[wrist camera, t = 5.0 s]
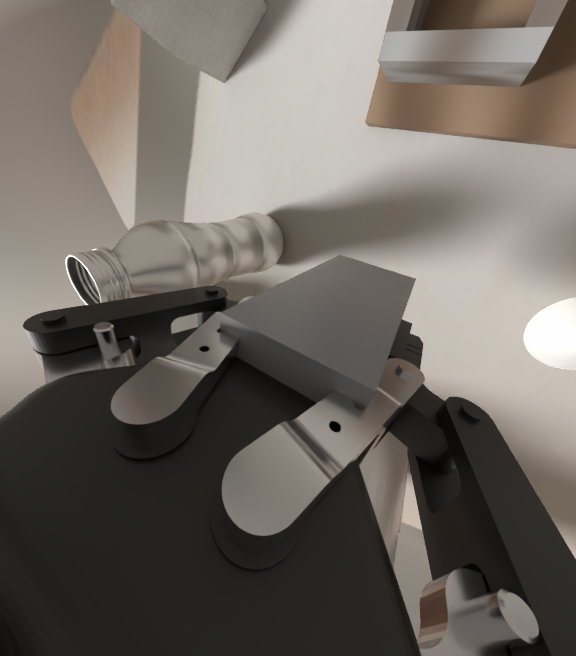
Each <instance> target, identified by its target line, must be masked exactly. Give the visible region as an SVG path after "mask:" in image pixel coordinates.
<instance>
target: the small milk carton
mask: <svg viewBox="0 0 576 656" xmlns="http://www.w3.org/2000/svg"><path fill="white" fill-rule="evenodd" d="M110 1H112V2H111V5H112V6H113V7H115V8H116V9H117V10H119V11H120V12H122V13H123V14H124V15H125V16H127V17H128V18H129V19H130V20H132V21H133V22H134V23H135V24H137V25H138V26H139V27H140V28H141V29H143V30H144V31H145V32H146V33H147V34H149V35H150V36H151V37H152V38H153V39H154V40H156V41H157V42H158V43H159V44H160V45H161V46H163V47H164V48H165V49H166V50H167V51H168V52H170V53H171V54H172V55H173V56H174V57H176V58H178V59H180V60H181V61H183V62H185V63H187V64H189V65H191V66H193V67H195V68H197V69H198V70H200V71H202V72H204V73H206V74H208V75H210V76H212V77H214V78H215V79H217V80H219V81H221V82H223V83H225V81H226V79H227V77H228V76H229V74H230V72H231V71H232V69H233V67H234V65H235V64H236V62H237V60H238V58H239V57H240V55H241V53H242V52H243V50H244V48H245V46H246V45H247V43H248V41H249V39H250V38H251V36H252V34H253V33H254V31H255V29H256V27H257V26H258V24H259V22H260V20H261V19H262V17H263V15H264V14H265V12H266V10H267V7H266V4H265V2H264V0H110Z"/></svg>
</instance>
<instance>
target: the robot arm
mask: <svg viewBox="0 0 576 656" xmlns="http://www.w3.org/2000/svg"><path fill="white" fill-rule="evenodd" d="M252 297H254V296H249V297H245V298H243V299H242V300H241V301H240V302H235V301H231V300H227V291H226V290H225V289H223V288H221V287H217V286H203V287H197V288H190V289H184V290H178V291H172V292H165V293H159V294H153V295H146V296H140V297H134V298H128V299H121V300H115V301H109V302H103V303H96V304H90V305H84V306H77V307H71V308H65V309H59V310H52V311H47V312H43V313H40V314H37V315H34V316H32V317H30V318H29V319H27V320H26V321H25V322H24V324H23V327H24V329H25V331H26V333H27V335H28V337H29V339H30V341H31V342H32V345H33V350H34V352H35V354H36V355H37V357H38V359H39V361H40V363H41V365H42V367H43V369H44V373H45V380H46V384H45V385H43V386H42V387H40V388H38V389H36V390H35V391H34V392H32V393H30V394H29V395H28V396H27V397H25V398H24V399H23V400H22V401H21V402H19V403H18V404H17V405H16V406H15V407H13V408H12V409H11V410H10V411H9V412H7V413H6V414H5V415H3V416H2V417H0V656H576V559H575V558H574V556H573V554H572V553H571V551H570V549H569V548H568V546H567V544H566V543H565V541H564V539H563V538H562V536H561V534H560V532H559V531H558V529H557V527H556V526H555V524H554V522H553V521H552V519H551V517H550V516H549V514H548V512H547V511H546V509H545V507H544V506H543V504H542V502H541V501H540V499H539V497H538V496H537V494H536V492H535V491H534V489H533V487H532V486H531V484H530V482H529V481H528V479H527V477H526V476H525V474H524V472H523V471H522V469H521V467H520V465H519V464H518V462H517V460H516V459H515V457H514V455H513V454H512V452H511V450H510V449H509V447H508V445H507V444H506V442H505V440H504V439H503V437H502V435H501V434H500V432H499V430H498V429H497V427H496V425H495V424H494V422H493V420H492V419H491V418H490V416H489V415H488V414H487V413H486V412H485V411H484V410H482V409H481V408H480V407H478V406H477V405H475V404H474V403H472V402H470V401H468V400H466V399H463V398H460V397H449V398H447V400H446V401H443V400H442V399H440V398H439V397H438V396H436V395H435V394H433V393H432V392H431V391H429V390H428V389H427V388H426V387H425V386H424V384H423V382H424V380H425V378H424V375H423V373H422V372H421V371H420V365H421V358H422V350H423V343H422V341H421V339H420V338H419V337H418V336H415V335H413V334H410V330H411V326H412V323H410V322H407V321H404V320H402V319H401V322H400V325H399V328H398V330H397V333H396V336H395V339H394V342H393V344H392V347H391V350H390V353H389V356H388V359H387V361H386V364H385V367H384V370H383V373H382V375H381V378H380V381H379V384H378V387H377V389H376V392H375V394H374V396H373V397H372V399H371V401H370V403H369V405H368V407H366V406H365V405H364V407H363V409H362V410H359V409H357V408H356V407H355V406H354V403H355V400H353V399H351V398H350V397H348V396H346V395H344V394H342V393H340V392H338V391H337V390H335V391H333V392H332V393H331V394H329V395H328V396H326V397H325V398H324V399H322V400H321V401H319V402H318V403H316V402H315V401H313V400H311V399H309V398H308V397H306V396H304V395H302V394H301V393H299V392H297V391H295V390H294V389H292V388H290V387H288V386H287V385H285V384H283V383H281V382H279V381H278V380H276V379H274V378H273V377H271V376H269V375H267V374H266V373H264V372H262V371H261V370H259V369H257V368H255V367H254V366H252V365H250V364H248V363H247V362H245V361H243V360H241V359H240V358H238V357H236V355H237V354H238V350H239V338H238V337H236V336H234V335H232V334H230V333H228V332H224V333H220V313H221V312H223V311H225V310H227V309H229V308H231V307H233V306H235V305H237V304H239V303H241V302H243V301H246V300H248V299H250V298H252ZM197 313H198V327H195V328H191V329H188V330H184V331H180V332H177V333H173V334H172V331H171V324H172V322H173V321H174V320H175V319H177V318H179V317H184V316H188V315H192V314H197ZM408 460H409V461H408ZM408 465H410V470H411V475H412V480H413V485H414V490H415V495H416V500H417V505H418V510H419V515H420V520H421V525H422V530H423V535H424V540H425V545H426V549H427V555H428V560H429V565H430V570H431V575H432V579H433V581H432V582H430V583H428V584H427V585H426V586H425V587H424V589H423V591H422V593H421V598H420V619H421V624H420V632H419V637H418V639H417V640H416V637H415V634H414V631H413V627H412V624H411V621H410V618H409V615H408V612H407V609H406V606H405V603H404V601H403V597H402V594H401V591H400V588H399V585H398V582H397V579H396V576H395V573H394V570H393V568H394V560H395V553H396V546H397V538H398V533H399V532H400V526H401V519H402V511H403V503H404V496H405V488H406V480H407V473H408ZM456 468H457V469H456ZM457 471H458V472H457ZM458 473H459V475H458ZM459 476H460V478H459Z"/></svg>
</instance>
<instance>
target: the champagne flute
mask: <svg viewBox="0 0 576 656" xmlns="http://www.w3.org/2000/svg"><path fill="white" fill-rule="evenodd" d="M523 338H524V344H525V346H526V348H527V350H528V351H529V353H530V354H531V355H532V356H533V357H534V358H536V359H537V360H538V361H540V362H542V363H544V364H546V365H549V366H552V367H555V368H559V369H565V370H574V371H576V297H574V298H570V299H566V300H563V301H559V302H557V303H555V304H552V305H550V306H548V307H546V308H545V309H543V310H541V311H540V312H539V313H537V314H536V315H535V316H534V317H533V318H532V319H531V320H530V322H529V323H528V324H527V326H526V329H525V331H524V337H523Z"/></svg>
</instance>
